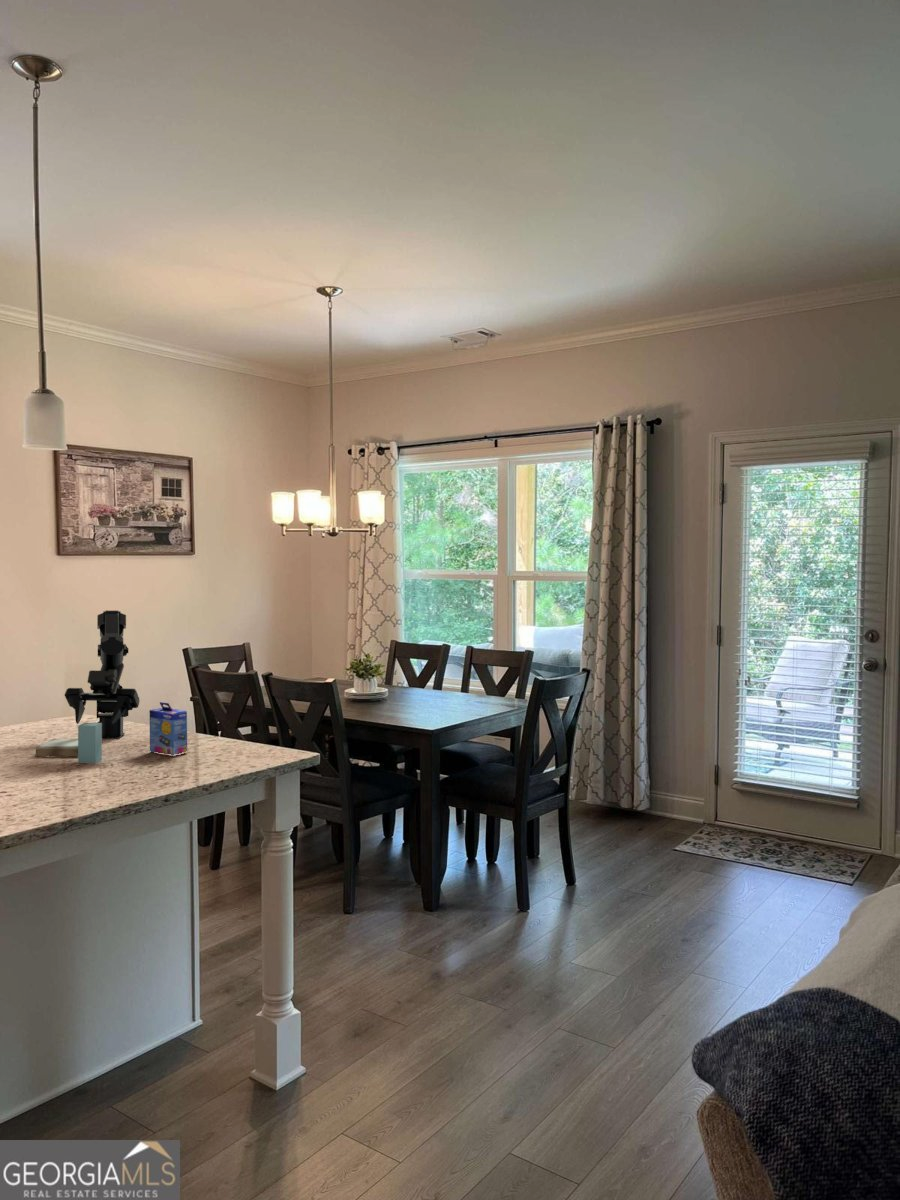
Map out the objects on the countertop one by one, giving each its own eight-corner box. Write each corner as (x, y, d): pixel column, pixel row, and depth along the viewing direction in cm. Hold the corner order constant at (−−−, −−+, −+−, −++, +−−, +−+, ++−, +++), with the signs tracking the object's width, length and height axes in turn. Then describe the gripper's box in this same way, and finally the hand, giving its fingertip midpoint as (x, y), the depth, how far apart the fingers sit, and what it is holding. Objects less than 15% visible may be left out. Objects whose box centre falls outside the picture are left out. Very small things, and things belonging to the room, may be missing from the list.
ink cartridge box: (147, 753, 242) (148, 701, 242) (163, 749, 247) (164, 699, 247) (172, 757, 237) (172, 704, 237) (188, 754, 242) (188, 702, 242)
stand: (95, 747, 248) (95, 738, 248) (81, 756, 236) (81, 746, 236) (51, 747, 247) (51, 738, 247) (35, 756, 235) (35, 746, 235)
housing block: (84, 759, 233) (84, 722, 232) (101, 759, 233) (101, 722, 232) (78, 763, 228) (78, 725, 228) (95, 763, 228) (95, 725, 228)
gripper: (67, 658, 237) (50, 704, 227) (136, 659, 238) (122, 705, 227) (78, 683, 246) (62, 729, 235) (145, 684, 246) (132, 730, 235)
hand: (94, 723), depth 233 cm, fingers open, 9 cm apart
